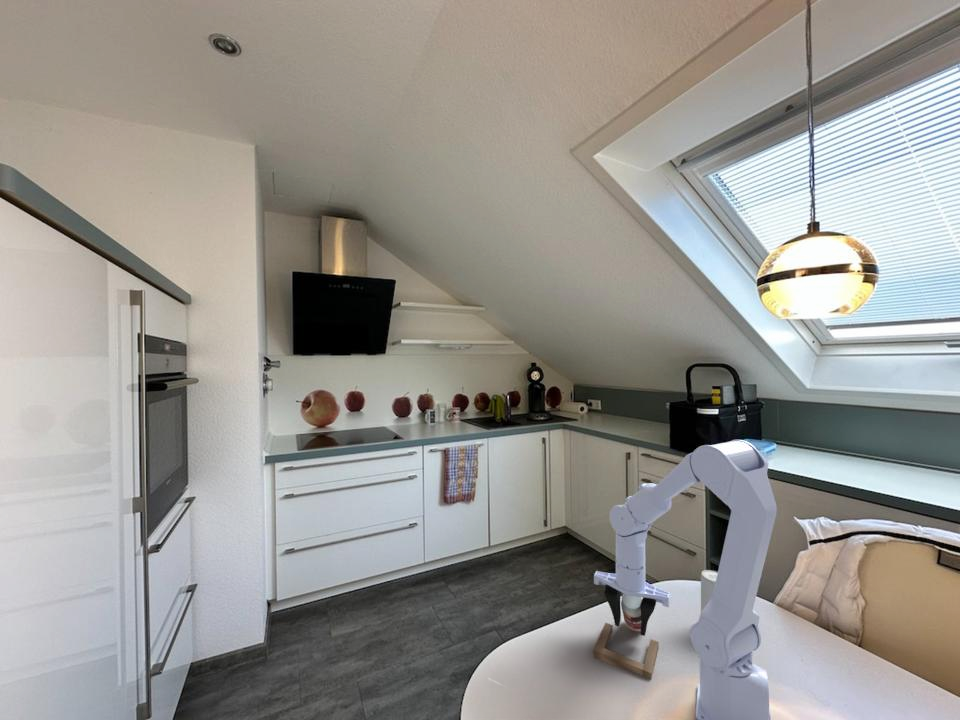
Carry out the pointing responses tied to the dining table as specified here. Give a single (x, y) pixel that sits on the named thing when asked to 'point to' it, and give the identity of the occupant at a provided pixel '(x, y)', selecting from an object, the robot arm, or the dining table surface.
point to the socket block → (621, 660)
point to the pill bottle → (631, 611)
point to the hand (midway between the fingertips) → (630, 627)
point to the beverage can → (707, 586)
